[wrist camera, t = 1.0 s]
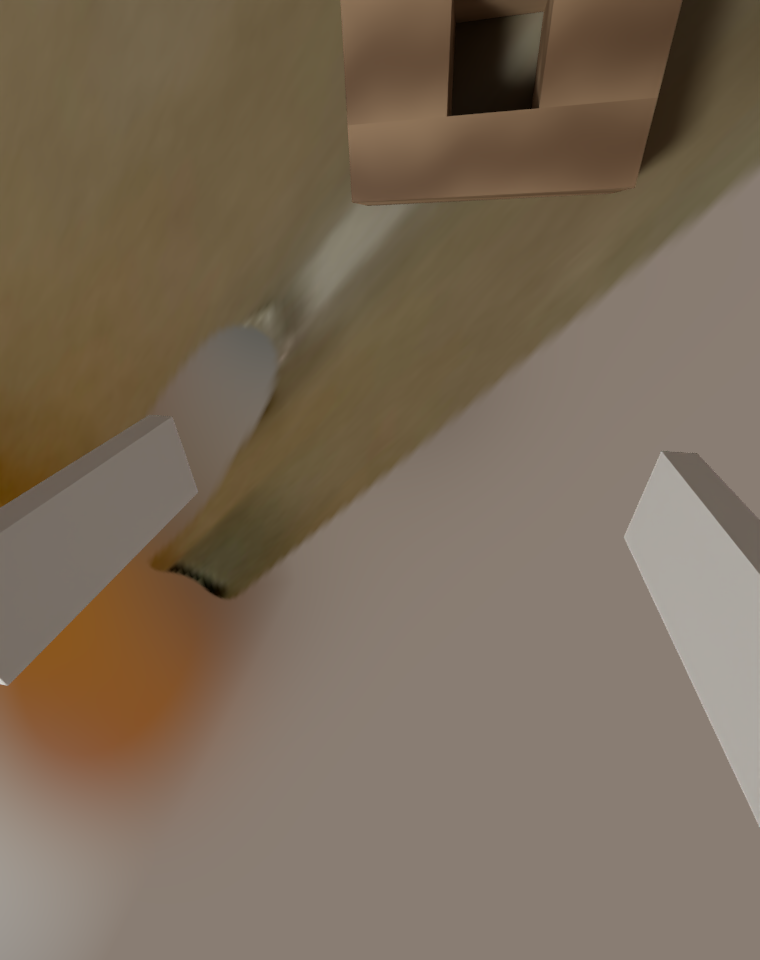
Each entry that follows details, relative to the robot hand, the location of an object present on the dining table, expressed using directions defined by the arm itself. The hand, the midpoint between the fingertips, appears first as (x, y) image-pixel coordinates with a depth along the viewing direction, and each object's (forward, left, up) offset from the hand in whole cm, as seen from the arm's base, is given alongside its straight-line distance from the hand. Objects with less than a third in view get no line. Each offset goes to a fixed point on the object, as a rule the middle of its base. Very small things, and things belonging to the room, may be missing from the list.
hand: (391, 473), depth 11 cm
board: (-13, +2, -24) cm, 28 cm away
